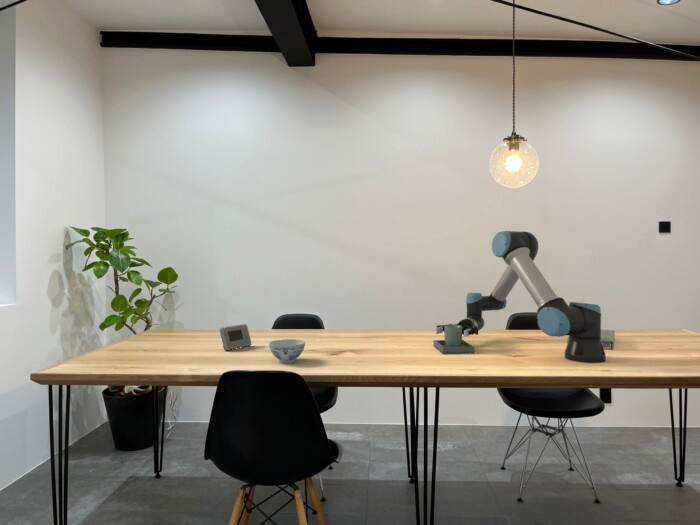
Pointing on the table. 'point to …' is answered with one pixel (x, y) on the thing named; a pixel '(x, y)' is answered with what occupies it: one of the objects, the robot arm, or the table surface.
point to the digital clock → (235, 336)
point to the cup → (453, 335)
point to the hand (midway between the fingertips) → (450, 332)
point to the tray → (453, 348)
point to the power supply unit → (607, 339)
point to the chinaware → (287, 349)
